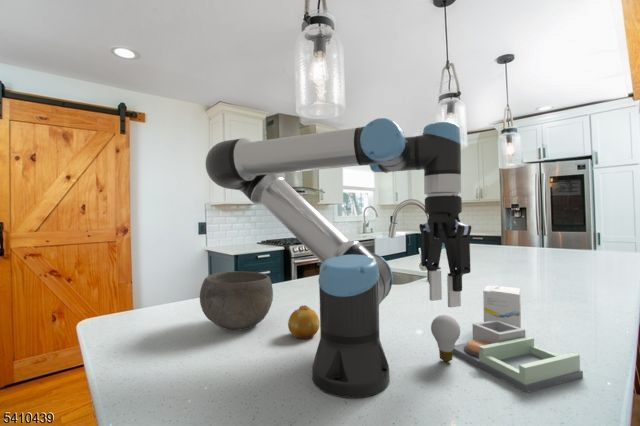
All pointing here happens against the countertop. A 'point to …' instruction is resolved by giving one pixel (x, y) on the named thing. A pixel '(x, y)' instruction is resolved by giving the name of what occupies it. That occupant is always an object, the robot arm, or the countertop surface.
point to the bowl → (236, 298)
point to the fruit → (303, 322)
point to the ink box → (502, 305)
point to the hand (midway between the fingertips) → (444, 302)
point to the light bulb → (445, 335)
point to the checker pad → (475, 345)
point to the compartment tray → (518, 357)
